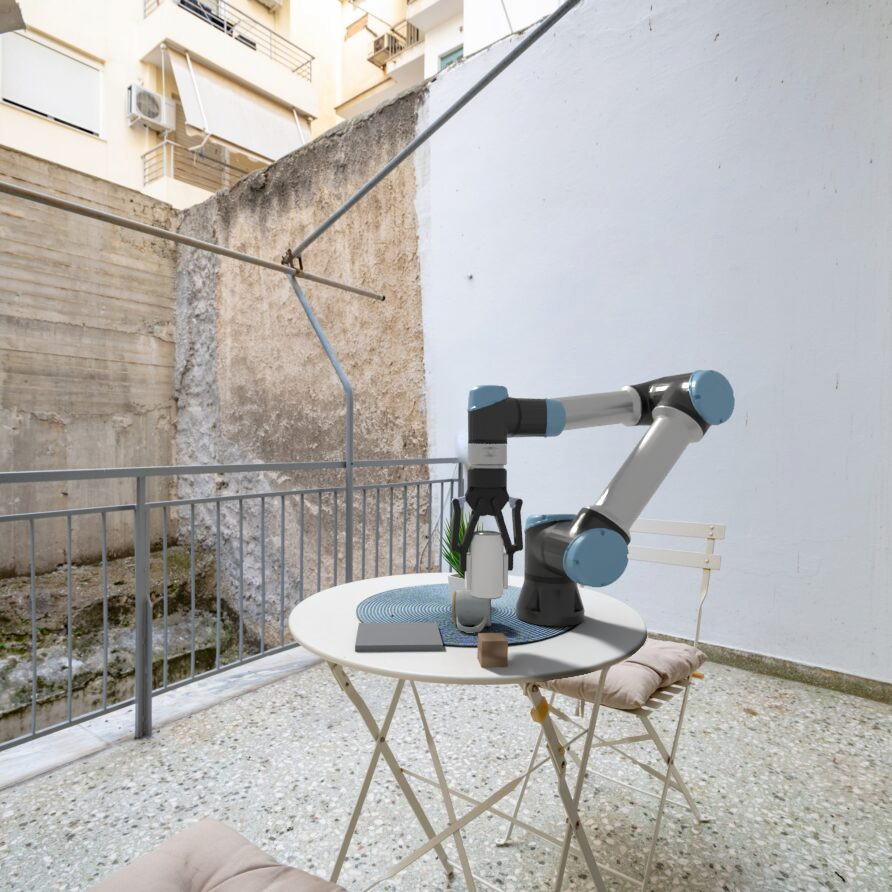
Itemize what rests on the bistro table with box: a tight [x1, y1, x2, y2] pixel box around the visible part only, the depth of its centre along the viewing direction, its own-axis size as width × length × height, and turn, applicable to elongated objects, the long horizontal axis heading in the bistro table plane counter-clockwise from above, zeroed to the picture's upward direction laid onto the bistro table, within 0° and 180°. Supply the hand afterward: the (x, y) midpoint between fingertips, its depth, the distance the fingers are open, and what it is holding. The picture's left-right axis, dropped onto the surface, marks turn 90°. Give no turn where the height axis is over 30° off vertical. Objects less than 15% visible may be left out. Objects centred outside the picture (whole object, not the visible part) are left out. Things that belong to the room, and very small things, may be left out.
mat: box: [354, 621, 444, 652], centre depth 113 cm, size 16×14×1 cm
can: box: [469, 530, 505, 600], centre depth 111 cm, size 6×6×12 cm
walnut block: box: [476, 632, 509, 668], centre depth 102 cm, size 4×4×4 cm
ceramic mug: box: [451, 589, 492, 634], centre depth 122 cm, size 11×8×8 cm
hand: (486, 587), depth 111 cm, fingers closed on can, 6 cm apart
